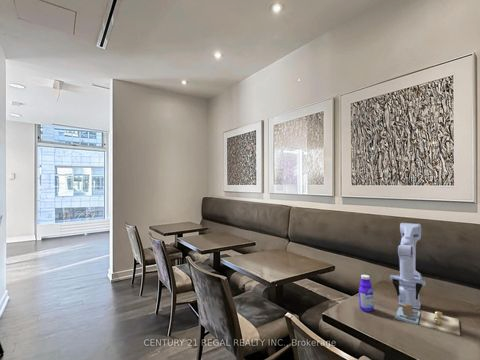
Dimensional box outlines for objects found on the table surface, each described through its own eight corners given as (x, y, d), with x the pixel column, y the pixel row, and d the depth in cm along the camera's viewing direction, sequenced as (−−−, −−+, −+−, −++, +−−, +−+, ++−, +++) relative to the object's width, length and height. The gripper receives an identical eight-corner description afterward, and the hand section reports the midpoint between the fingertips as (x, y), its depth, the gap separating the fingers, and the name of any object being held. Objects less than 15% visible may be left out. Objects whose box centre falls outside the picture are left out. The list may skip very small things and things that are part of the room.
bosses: (434, 325, 120) (434, 319, 120) (435, 315, 129) (434, 310, 129) (442, 327, 118) (441, 321, 118) (442, 317, 127) (442, 312, 127)
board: (419, 325, 121) (419, 323, 122) (421, 312, 134) (421, 310, 134) (459, 335, 113) (459, 334, 113) (458, 320, 125) (458, 319, 125)
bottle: (366, 313, 134) (365, 278, 134) (357, 308, 139) (356, 275, 140) (376, 310, 137) (375, 276, 138) (366, 305, 142) (365, 273, 143)
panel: (395, 318, 128) (394, 307, 128) (399, 308, 138) (398, 298, 138) (418, 324, 122) (417, 312, 122) (420, 313, 132) (419, 303, 133)
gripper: (388, 268, 132) (389, 296, 132) (423, 274, 123) (424, 303, 123) (390, 265, 138) (391, 291, 137) (424, 270, 129) (425, 298, 128)
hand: (407, 297), depth 130 cm, fingers open, 7 cm apart
